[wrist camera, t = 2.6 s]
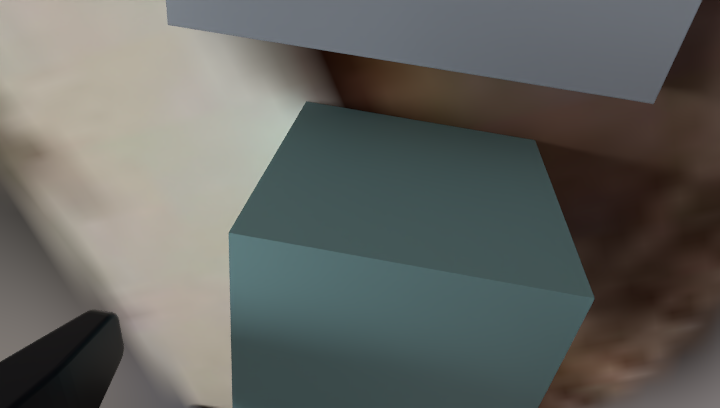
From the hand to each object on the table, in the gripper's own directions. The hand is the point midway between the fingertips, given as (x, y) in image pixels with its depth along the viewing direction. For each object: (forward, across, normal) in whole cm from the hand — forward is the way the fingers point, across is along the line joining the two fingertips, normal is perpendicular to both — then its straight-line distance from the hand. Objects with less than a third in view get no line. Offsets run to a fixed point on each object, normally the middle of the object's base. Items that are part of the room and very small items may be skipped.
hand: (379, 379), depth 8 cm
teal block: (+5, 0, 0) cm, 5 cm away
